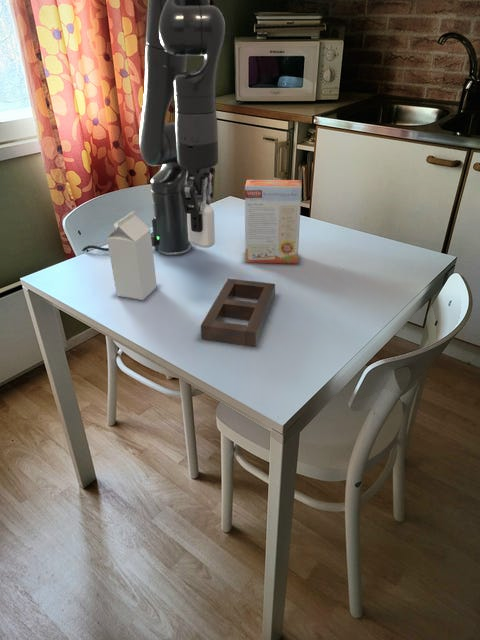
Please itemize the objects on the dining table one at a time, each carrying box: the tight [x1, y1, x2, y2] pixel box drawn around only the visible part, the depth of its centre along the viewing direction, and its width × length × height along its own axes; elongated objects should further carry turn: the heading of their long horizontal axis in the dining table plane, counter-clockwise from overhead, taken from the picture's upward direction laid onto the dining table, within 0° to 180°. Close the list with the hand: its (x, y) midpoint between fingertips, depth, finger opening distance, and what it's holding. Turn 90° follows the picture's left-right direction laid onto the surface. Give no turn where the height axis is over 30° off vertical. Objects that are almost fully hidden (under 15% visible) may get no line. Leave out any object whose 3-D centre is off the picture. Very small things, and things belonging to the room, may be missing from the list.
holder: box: [200, 278, 276, 348], centre depth 105 cm, size 11×21×4 cm, turn 166°
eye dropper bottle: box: [187, 195, 216, 249], centre depth 95 cm, size 4×6×12 cm
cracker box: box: [244, 179, 303, 265], centre depth 124 cm, size 14×6×21 cm, turn 84°
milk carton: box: [106, 210, 158, 301], centre depth 111 cm, size 7×7×19 cm
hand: (200, 226), depth 96 cm, fingers closed on eye dropper bottle, 4 cm apart
